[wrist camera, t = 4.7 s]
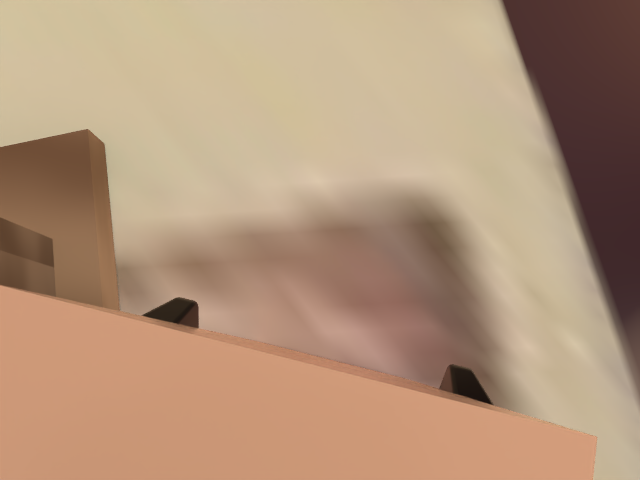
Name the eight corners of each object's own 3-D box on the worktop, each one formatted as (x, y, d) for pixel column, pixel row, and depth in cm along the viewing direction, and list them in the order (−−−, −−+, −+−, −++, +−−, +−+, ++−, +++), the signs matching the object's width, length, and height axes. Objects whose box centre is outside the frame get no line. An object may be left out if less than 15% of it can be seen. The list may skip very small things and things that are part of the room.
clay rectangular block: (387, 455, 15) (554, 845, 3) (235, 414, 16) (-153, 599, 3) (403, 377, 16) (597, 436, 3) (255, 340, 16) (-21, 279, 4)
